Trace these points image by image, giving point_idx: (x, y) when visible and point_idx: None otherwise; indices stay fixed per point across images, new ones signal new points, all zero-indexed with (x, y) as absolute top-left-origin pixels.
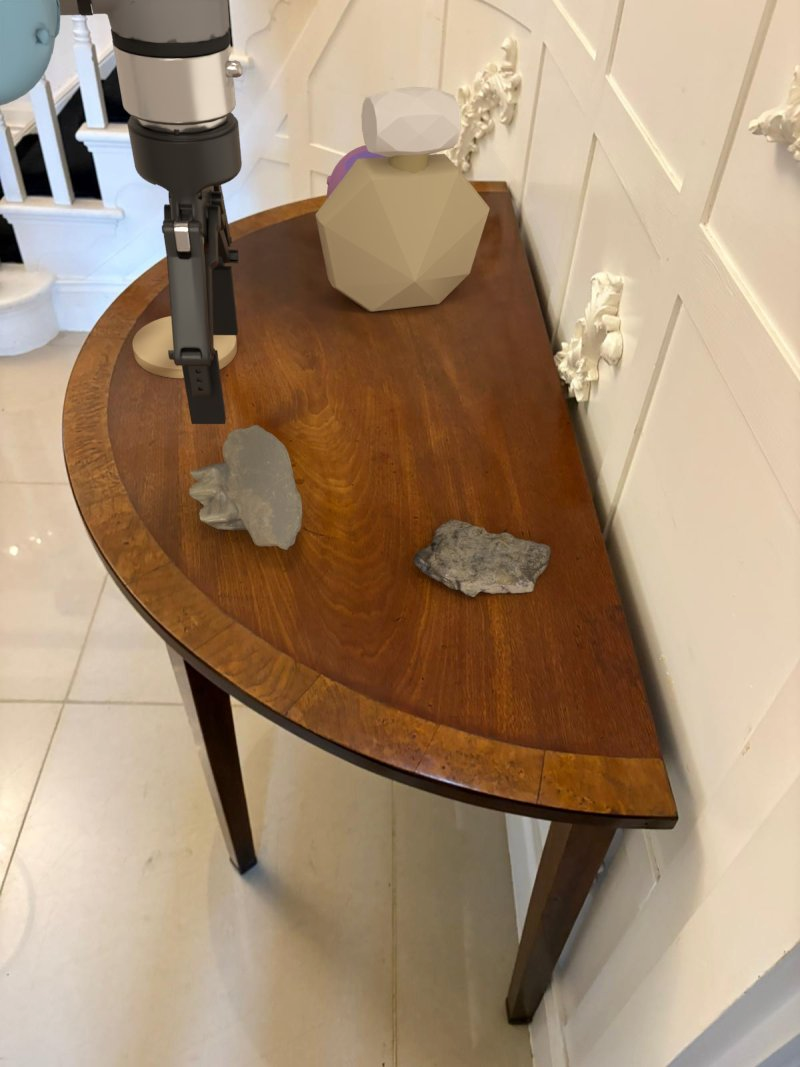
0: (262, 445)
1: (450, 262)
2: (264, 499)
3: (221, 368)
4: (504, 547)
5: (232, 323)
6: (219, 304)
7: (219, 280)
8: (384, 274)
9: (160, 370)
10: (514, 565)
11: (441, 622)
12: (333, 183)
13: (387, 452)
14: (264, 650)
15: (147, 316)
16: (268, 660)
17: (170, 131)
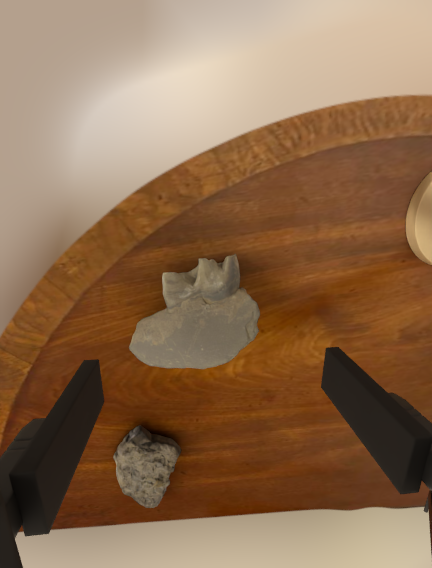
0: (223, 344)
1: None
2: (166, 339)
3: (415, 254)
4: (147, 487)
5: (331, 396)
6: (354, 405)
7: (388, 449)
8: None
9: (419, 193)
10: (131, 490)
11: (91, 435)
12: None
13: (274, 400)
14: (48, 325)
15: None
16: (39, 329)
17: None
